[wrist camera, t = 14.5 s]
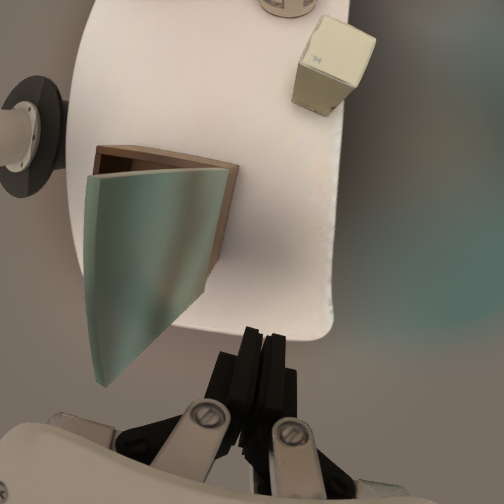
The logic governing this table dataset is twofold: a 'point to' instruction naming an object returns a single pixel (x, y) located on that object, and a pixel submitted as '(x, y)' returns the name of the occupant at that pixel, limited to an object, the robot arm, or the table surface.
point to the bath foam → (288, 7)
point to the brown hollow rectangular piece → (156, 159)
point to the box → (331, 65)
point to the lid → (144, 256)
